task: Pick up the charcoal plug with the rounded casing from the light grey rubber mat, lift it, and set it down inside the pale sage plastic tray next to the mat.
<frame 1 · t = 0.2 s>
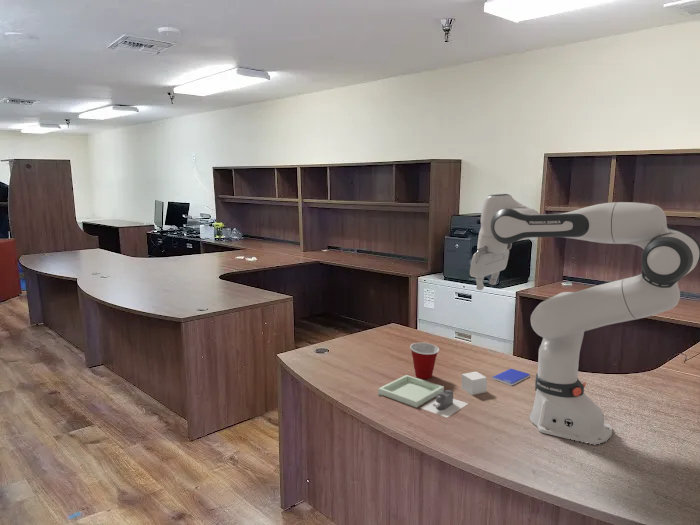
hand: (486, 286, 160), 38 cm above the table, tool pointing down, fingers open, 8 cm apart
tray: (411, 394, 171), on the table
hard drive: (510, 379, 184), on the table
white cube: (473, 392, 173), on the table
plastic cup: (424, 378, 185), on the table
mat: (444, 407, 161), on the table
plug: (444, 405, 161), point 1 cm above the table, touching mat
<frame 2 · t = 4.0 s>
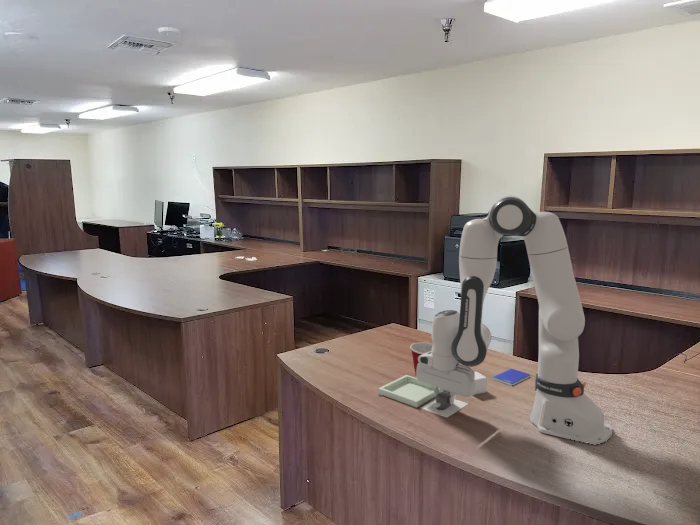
hand: (444, 401, 161), 2 cm above the table, tool pointing down, fingers closed on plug, 3 cm apart
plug: (444, 405, 161), point 1 cm above the table, touching gripper, mat
everything else where it was.
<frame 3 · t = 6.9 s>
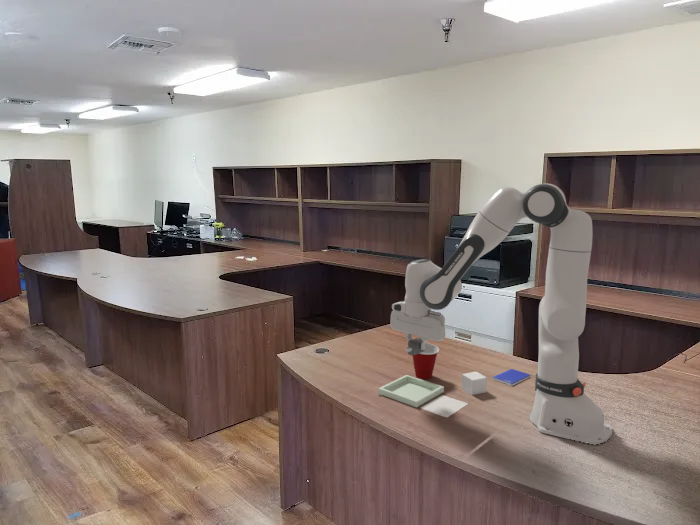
hand: (416, 347, 167), 17 cm above the table, tool pointing down, fingers closed on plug, 3 cm apart
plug: (416, 351, 167), point 16 cm above the table, touching gripper
everything else where it was.
when the fingers open (4 cm above the table, at t = 10.1 s): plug drops 2 cm, resting on tray.
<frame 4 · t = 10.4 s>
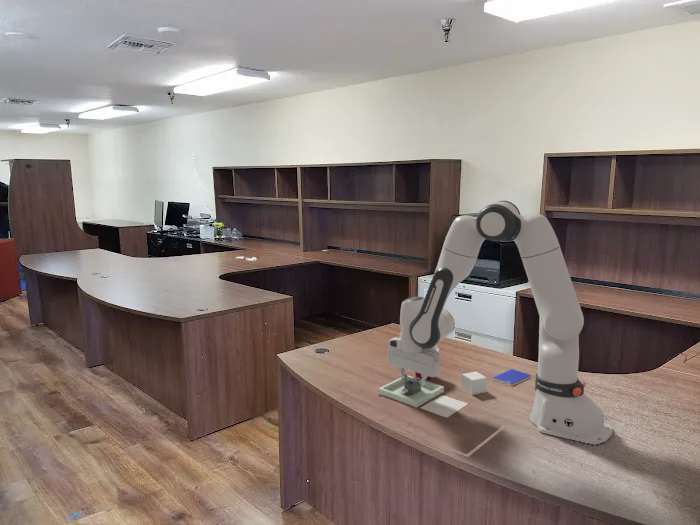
hand: (412, 382, 171), 4 cm above the table, tool pointing down, fingers open, 6 cm apart
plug: (412, 391, 172), point 1 cm above the table, touching tray
everything else where it was.
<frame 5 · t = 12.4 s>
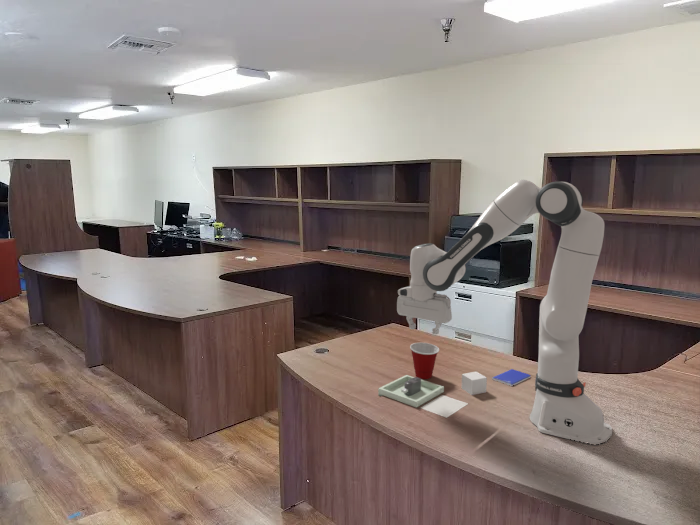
hand: (423, 331, 170), 22 cm above the table, tool pointing down, fingers open, 8 cm apart
nothing on the table moved.
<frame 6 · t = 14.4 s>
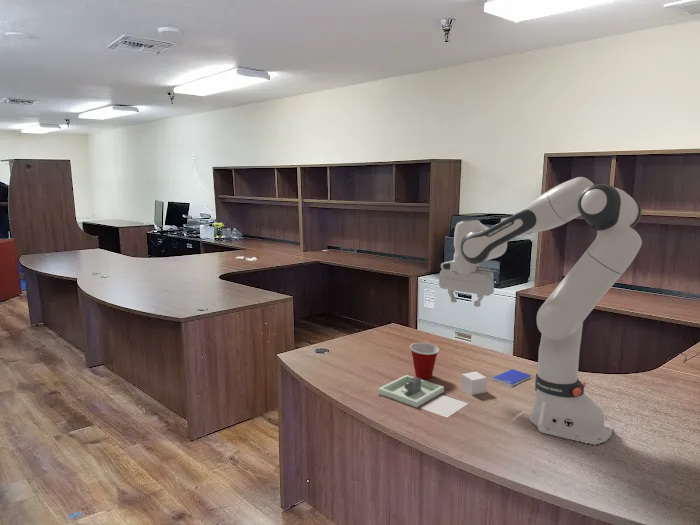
hand: (465, 304, 176), 29 cm above the table, tool pointing down, fingers open, 8 cm apart
nothing on the table moved.
at the end: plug inside the target area on the tray (0.9 cm from its centre), point 0.6 cm above the tray's base; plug touching tray; the gripper is holding nothing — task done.
